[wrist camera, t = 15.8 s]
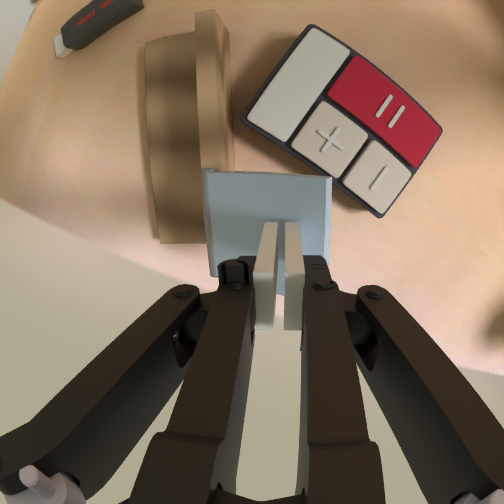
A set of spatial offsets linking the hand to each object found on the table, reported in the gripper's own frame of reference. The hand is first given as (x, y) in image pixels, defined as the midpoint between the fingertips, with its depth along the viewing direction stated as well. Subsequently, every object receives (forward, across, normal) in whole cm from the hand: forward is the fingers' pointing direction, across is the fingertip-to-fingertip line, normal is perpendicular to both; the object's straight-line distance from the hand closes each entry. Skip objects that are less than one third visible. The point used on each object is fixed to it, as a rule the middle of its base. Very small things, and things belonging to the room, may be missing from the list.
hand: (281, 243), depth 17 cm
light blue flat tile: (+3, -1, 0) cm, 3 cm away
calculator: (+11, +6, +8) cm, 15 cm away
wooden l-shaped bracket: (+11, -8, +7) cm, 15 cm away
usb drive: (+11, -20, +24) cm, 33 cm away
